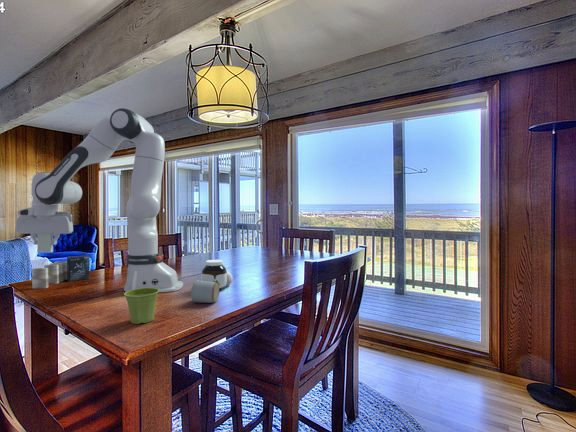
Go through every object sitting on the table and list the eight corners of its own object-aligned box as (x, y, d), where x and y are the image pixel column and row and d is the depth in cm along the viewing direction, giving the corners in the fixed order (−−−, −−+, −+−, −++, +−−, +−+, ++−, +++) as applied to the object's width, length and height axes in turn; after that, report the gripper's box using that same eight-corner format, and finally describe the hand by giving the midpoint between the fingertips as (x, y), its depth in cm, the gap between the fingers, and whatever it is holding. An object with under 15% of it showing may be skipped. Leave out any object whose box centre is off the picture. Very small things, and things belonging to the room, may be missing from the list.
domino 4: (64, 280, 140) (63, 262, 140) (62, 281, 139) (61, 263, 139) (51, 281, 140) (51, 263, 139) (49, 281, 138) (49, 263, 138)
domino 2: (59, 282, 137) (58, 264, 136) (57, 283, 135) (56, 265, 135) (46, 283, 136) (46, 264, 136) (44, 283, 134) (43, 265, 134)
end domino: (68, 278, 144) (68, 261, 144) (66, 279, 143) (66, 262, 142) (56, 279, 143) (56, 261, 143) (54, 279, 142) (54, 262, 142)
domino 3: (48, 287, 129) (48, 267, 129) (46, 288, 127) (45, 268, 127) (35, 287, 128) (34, 268, 128) (32, 288, 127) (32, 268, 127)
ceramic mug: (213, 305, 107) (214, 283, 107) (190, 305, 107) (190, 282, 107) (222, 297, 117) (222, 276, 117) (201, 296, 118) (201, 276, 118)
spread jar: (199, 291, 124) (199, 262, 124) (206, 284, 135) (206, 257, 135) (229, 291, 124) (229, 262, 124) (234, 284, 136) (234, 258, 135)
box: (69, 281, 138) (69, 258, 138) (66, 279, 142) (66, 256, 142) (90, 279, 144) (89, 256, 143) (87, 277, 148) (86, 254, 148)
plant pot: (116, 324, 90) (116, 294, 89) (142, 313, 98) (142, 286, 98) (141, 328, 86) (141, 297, 86) (166, 317, 95) (166, 289, 95)
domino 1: (53, 252, 132) (52, 233, 132) (50, 252, 131) (50, 233, 131) (39, 252, 132) (39, 233, 131) (37, 252, 130) (37, 233, 130)
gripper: (76, 211, 135) (76, 243, 136) (23, 211, 132) (23, 243, 133) (68, 211, 129) (68, 245, 129) (12, 211, 126) (13, 245, 127)
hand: (45, 244), depth 131 cm, fingers closed on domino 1, 5 cm apart
